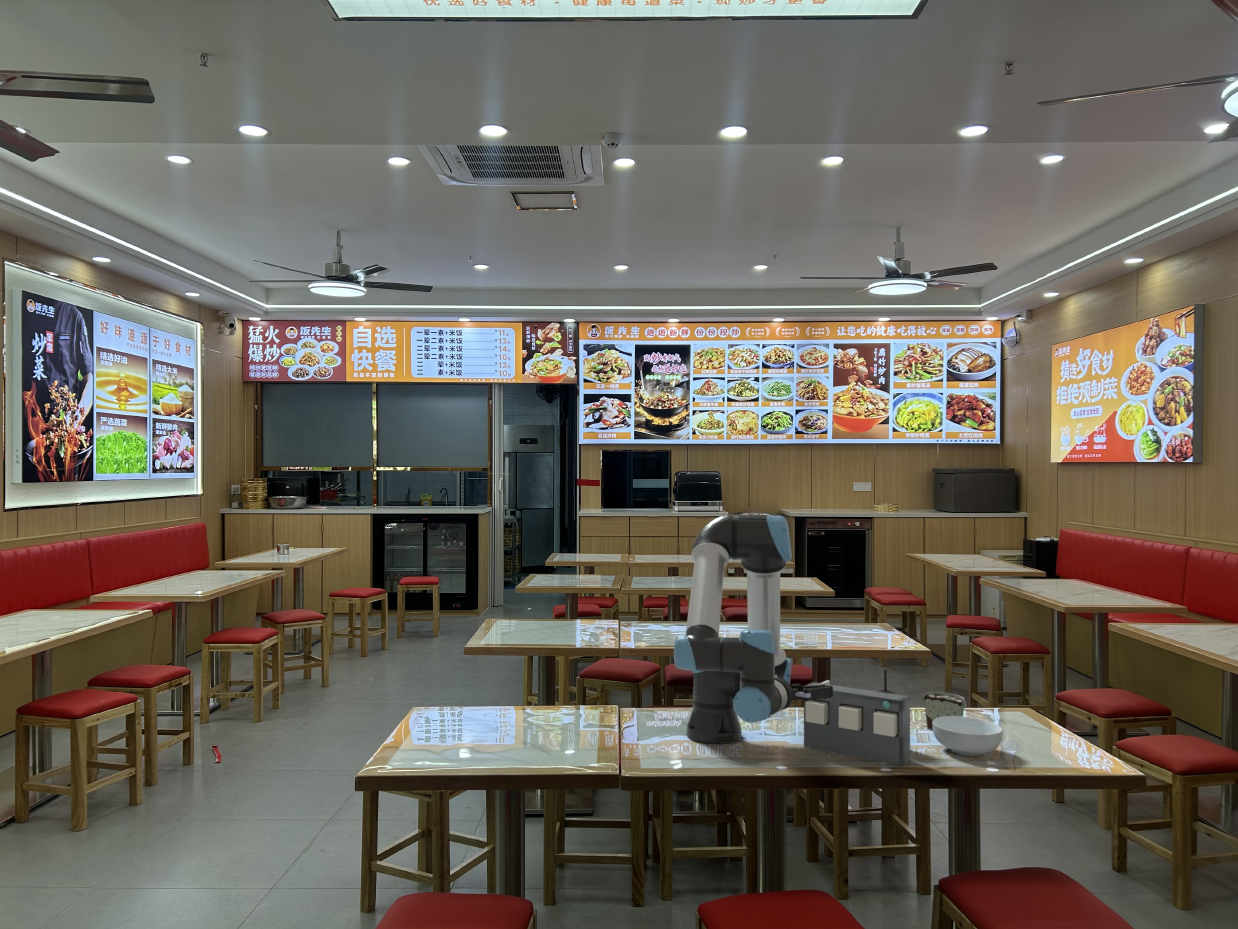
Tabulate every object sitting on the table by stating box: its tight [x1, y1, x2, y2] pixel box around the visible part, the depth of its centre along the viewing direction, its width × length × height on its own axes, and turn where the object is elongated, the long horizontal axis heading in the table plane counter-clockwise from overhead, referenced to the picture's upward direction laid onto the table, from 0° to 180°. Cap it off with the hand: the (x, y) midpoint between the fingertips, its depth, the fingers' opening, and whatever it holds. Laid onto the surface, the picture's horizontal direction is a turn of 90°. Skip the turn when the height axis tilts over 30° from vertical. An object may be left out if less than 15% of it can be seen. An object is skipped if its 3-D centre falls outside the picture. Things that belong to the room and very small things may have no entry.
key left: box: [806, 700, 829, 725], centre depth 218 cm, size 4×5×5 cm
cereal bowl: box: [932, 715, 1003, 757], centre depth 217 cm, size 17×17×7 cm
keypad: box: [803, 681, 911, 767], centre depth 215 cm, size 6×26×16 cm, turn 55°
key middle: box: [839, 704, 863, 731], centre depth 212 cm, size 4×5×5 cm
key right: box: [874, 710, 899, 737], centre depth 207 cm, size 4×5×5 cm
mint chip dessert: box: [921, 691, 968, 731], centre depth 237 cm, size 12×6×10 cm, turn 47°
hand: (801, 683), depth 208 cm, fingers open, 13 cm apart
